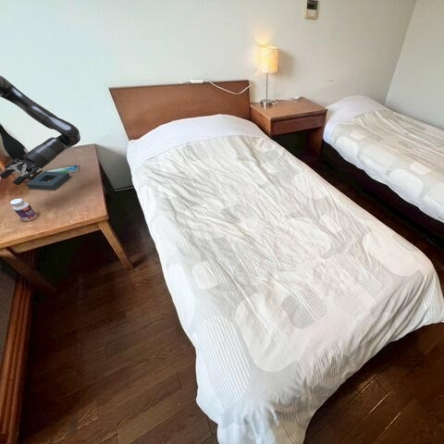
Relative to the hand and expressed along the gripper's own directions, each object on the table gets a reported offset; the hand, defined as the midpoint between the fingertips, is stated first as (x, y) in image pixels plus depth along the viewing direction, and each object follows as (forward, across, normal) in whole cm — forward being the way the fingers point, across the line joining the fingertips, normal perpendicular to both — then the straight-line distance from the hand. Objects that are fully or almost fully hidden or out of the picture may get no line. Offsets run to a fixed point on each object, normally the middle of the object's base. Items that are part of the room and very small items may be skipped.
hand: (8, 180), depth 106 cm
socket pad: (-12, -17, +24) cm, 32 cm away
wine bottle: (-16, -43, +27) cm, 53 cm away
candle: (-8, -32, +24) cm, 40 cm away
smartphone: (-22, -24, +28) cm, 43 cm away
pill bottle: (+8, +3, +17) cm, 19 cm away
